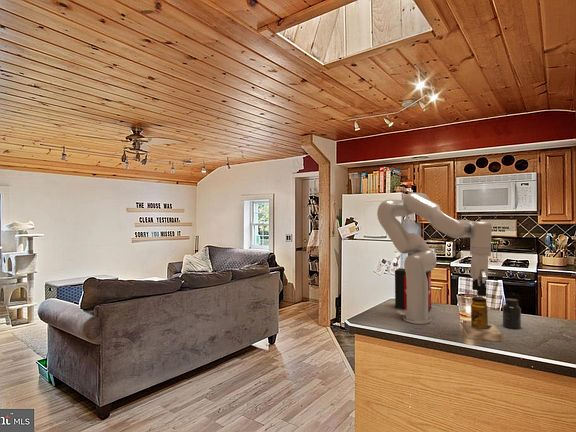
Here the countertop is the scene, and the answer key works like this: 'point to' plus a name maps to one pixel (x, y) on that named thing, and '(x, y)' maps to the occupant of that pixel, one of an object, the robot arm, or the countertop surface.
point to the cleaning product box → (402, 289)
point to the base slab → (482, 333)
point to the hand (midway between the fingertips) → (478, 292)
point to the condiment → (479, 314)
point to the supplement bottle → (511, 314)
